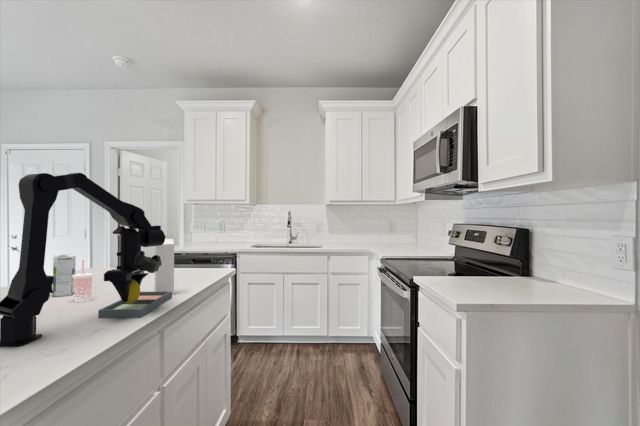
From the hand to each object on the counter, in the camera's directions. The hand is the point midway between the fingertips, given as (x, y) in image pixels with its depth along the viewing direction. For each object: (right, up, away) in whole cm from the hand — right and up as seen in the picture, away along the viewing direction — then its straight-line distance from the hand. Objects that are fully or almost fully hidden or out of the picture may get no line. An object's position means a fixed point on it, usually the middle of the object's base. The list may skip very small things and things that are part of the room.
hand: (130, 299), depth 106 cm
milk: (0, -4, +24) cm, 24 cm away
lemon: (0, -2, 0) cm, 2 cm away
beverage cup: (-24, -4, +14) cm, 28 cm away
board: (0, -4, +6) cm, 7 cm away
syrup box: (-36, -4, +22) cm, 42 cm away
